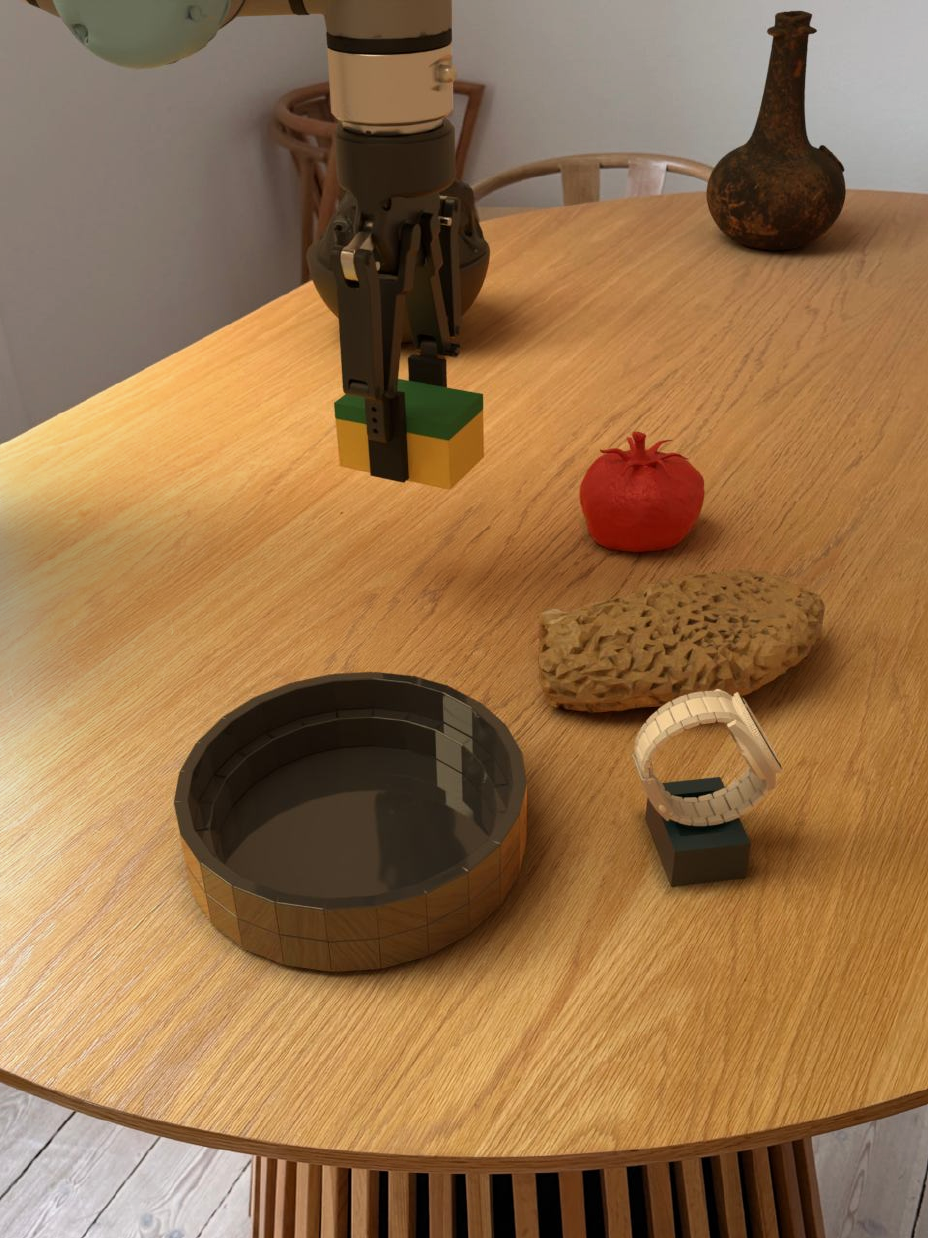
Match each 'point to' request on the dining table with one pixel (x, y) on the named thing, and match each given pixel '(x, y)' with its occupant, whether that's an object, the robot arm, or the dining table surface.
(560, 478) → the dining table surface
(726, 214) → the glass bottle
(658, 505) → the red tomato
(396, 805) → the bowl
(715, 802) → the watch
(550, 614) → the sponge
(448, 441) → the dish sponge
